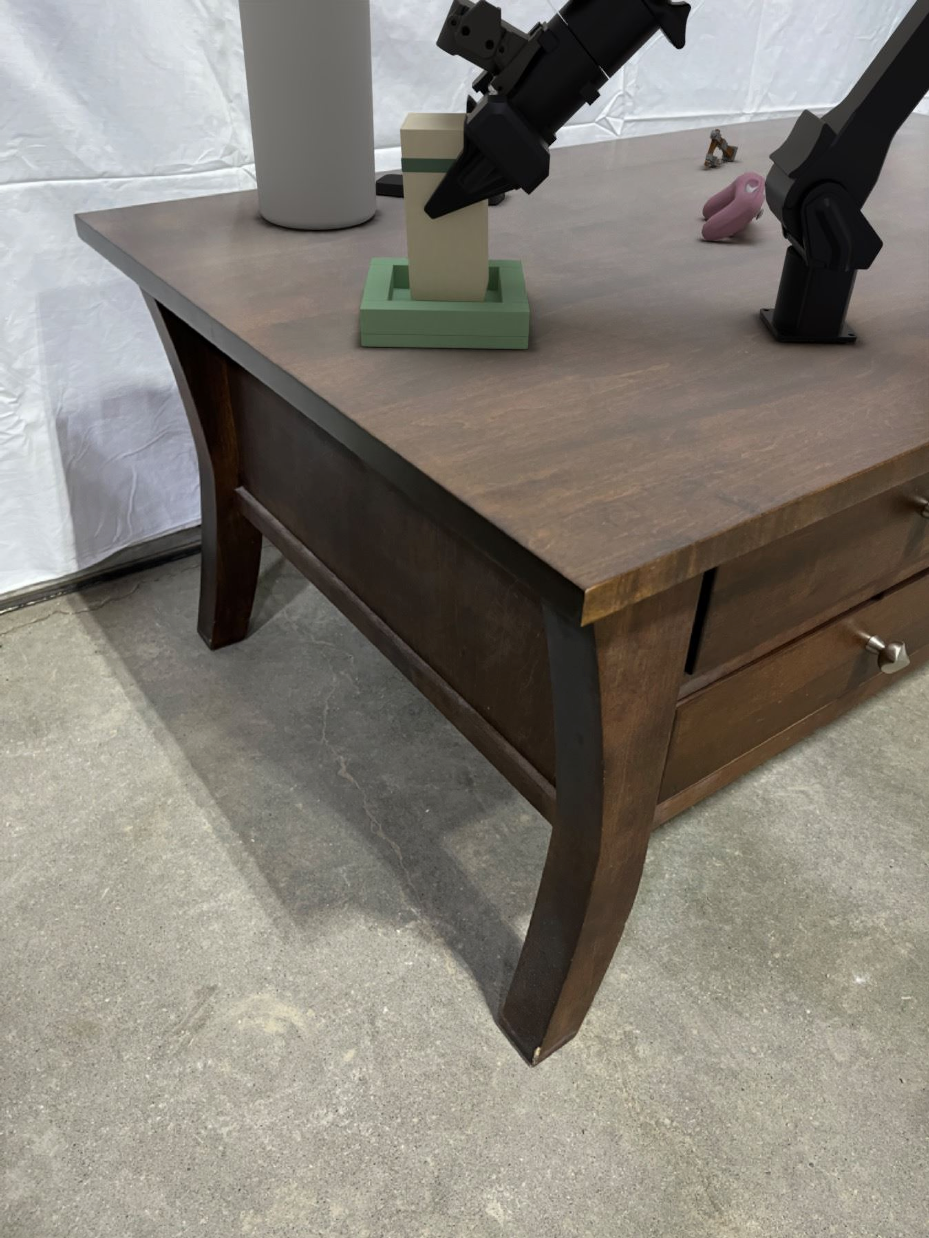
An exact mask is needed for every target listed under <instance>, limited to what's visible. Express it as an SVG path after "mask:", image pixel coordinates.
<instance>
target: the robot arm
mask: <svg viewBox="0 0 929 1238" xmlns="http://www.w3.org/2000/svg"><path fill="white" fill-rule="evenodd" d="M691 10H692V5H691V4H690V3H689V2H688V1H686V0H681V1H673V0H567V1H566V3H564V4H563V6H562V7H561V8H560V9H559V10H558V11H557V12H556V13H555V14H554V15H553V16H552V17H551V18H550V19H549V21H548V22H547V21H546V20H544V21H543V22H541V21H537V22H536V23H535V24H534V25H533V26H532V28H531V29H530V30H529V31H528V32H527V33H526V32H524V31H522V29H520V28H518V27H516V26H514V25H513V24H512V23H510V22H507V21H506V20H505V19H503V18H502V7H500V6H495V5H494V4H492V3H490V2H488V1H487V0H477V2H473V1H471V0H452V3H451V5H450V7H449V10H448V11H447V12H448V13H447V15H446V17H445V20H444V22H443V25H442V27H441V30H440V32H439V35H438V37H437V40H436V41H435V45H436V47H437V48H438V49H440V50H442V51H443V52H445V53H447V54H449V55H450V56H452V57H455V56H458V57H461V58H462V59H464V60H466V61H467V62H469V63H470V64H473V65H474V66H476V67H478V68H480V69H481V70H482V71H481V72H480V73H479V74H478V75H477V76H476V78H475V79H474V80H473V81H472V82H471V89H472V90H473V91H474V92H475V93H476V94H478V93H481V95H483V96H482V97H480V99H479V100H478V101H476V100H475V98H474V97H473V96H472V95H471V94H467V97H466V103H465V106H466V107H465V113H471V114H470V115H469V116H467V115H465V117H464V124H463V149H462V151H461V152H460V154H459V155H458V157H457V158H456V160H455V161H454V163H453V164H452V166H451V167H450V169H449V170H448V171H447V173H446V174H445V176H444V177H443V179H442V180H441V182H440V183H439V185H438V186H437V188H436V189H435V191H434V192H433V194H432V195H431V197H430V198H429V200H428V201H427V203H426V205H425V206H424V212H425V213H426V214H427V215H428V216H429V217H430V218H431V219H436V218H439V217H441V216H444V215H447V214H449V213H452V212H454V211H457V210H459V209H462V208H465V207H467V206H470V205H472V204H475V203H478V202H480V201H483V200H486V199H489V198H491V197H494V196H497V195H500V194H503V193H505V194H506V193H508V192H511V191H514V190H515V191H519V190H520V189H521V190H522V191H523V192H524V193H525V194H526V195H528V196H530V195H531V194H532V193H533V192H534V191H536V189H537V188H538V187H540V186H541V184H542V183H544V181H545V180H546V179H548V177H550V167H551V153H550V147H551V146H552V145H553V144H554V143H555V142H556V141H557V140H558V138H557V133H558V131H559V130H560V129H562V127H564V126H565V124H566V123H568V122H569V120H570V119H571V118H573V116H574V115H576V113H577V112H578V111H580V109H581V108H583V106H584V105H585V104H586V103H587V105H588V106H589V107H591V106H592V105H593V104H594V103H595V102H596V101H597V100H598V99H599V98H600V97H601V96H602V95H601V92H600V91H599V90H600V89H602V87H603V86H604V85H606V83H608V82H609V81H610V79H611V78H612V77H614V75H616V73H618V71H619V70H620V69H621V68H622V67H623V66H625V64H626V63H627V62H628V61H629V60H630V59H632V57H633V56H634V55H635V54H636V53H637V52H639V50H640V49H641V48H643V46H644V45H645V44H646V43H647V42H649V40H650V39H651V38H653V36H655V34H656V33H658V32H659V31H660V32H661V33H662V35H663V36H664V37H665V40H667V42H668V43H669V44H670V45H671V46H673V47H674V48H675V49H676V50H683V49H684V47H685V46H686V43H687V42H686V41H687V40H686V38H687V37H686V34H687V25H688V24H687V23H688V19H689V16H690V13H691ZM928 92H929V0H916V1H915V2H914V3H913V4H912V6H911V7H910V9H909V10H908V11H907V13H906V14H905V16H904V17H903V18H902V20H901V21H900V22H899V23H898V25H897V27H896V28H895V29H894V30H893V32H892V34H891V35H890V36H889V37H888V39H887V40H886V41H885V43H884V44H883V46H882V47H881V48H880V50H879V51H878V53H877V54H876V55H875V57H874V58H873V60H872V61H871V62H870V64H869V65H868V66H867V68H866V69H865V71H864V72H863V73H862V75H861V76H860V77H859V78H858V79H857V81H856V83H855V84H854V85H853V87H852V88H851V90H849V92H848V94H847V95H846V96H845V97H844V98H843V99H842V100H841V101H840V102H839V103H838V104H837V105H835V106H834V107H833V108H831V109H830V110H829V111H828V112H826V113H825V114H824V115H822V117H819V116H817V115H816V114H815V113H813V112H812V111H810V110H809V109H807V108H806V109H804V110H803V111H801V114H800V115H799V116H798V118H797V120H796V121H795V123H794V125H793V127H792V129H791V131H790V133H789V135H788V136H787V138H786V140H784V141H783V143H782V144H780V146H779V147H778V148H777V149H775V150H774V151H772V152H771V153H770V154H769V156H768V158H769V159H770V160H771V161H772V162H773V164H772V165H771V167H770V168H769V171H768V173H767V174H766V177H765V188H764V195H765V202H766V204H767V206H768V208H769V211H770V212H771V213H772V215H774V217H775V218H776V219H777V220H778V221H779V222H780V226H781V233H782V237H783V238H784V239H785V240H787V241H788V242H789V244H790V245H789V246H787V248H786V252H785V256H784V261H783V265H782V271H781V275H780V280H779V285H778V288H777V289H778V290H777V294H776V299H775V303H774V308H773V307H772V308H771V307H767V308H766V307H762V308H760V309H759V317H760V318H761V319H762V320H763V322H764V324H765V325H766V326H767V327H768V329H769V330H770V332H771V334H772V335H773V336H774V338H775V339H776V340H777V341H781V342H814V343H815V342H817V343H818V342H819V343H820V342H822V343H823V342H824V343H825V342H826V343H827V342H828V343H856V342H857V341H858V334H857V333H856V331H855V330H854V329H853V328H852V327H851V326H850V325H849V324H848V323H847V322H846V319H847V315H848V311H849V308H850V303H851V300H852V295H853V292H854V288H855V283H856V279H857V276H858V272H859V270H860V271H861V270H863V271H865V270H866V271H867V270H869V269H870V268H871V267H872V265H873V263H874V261H875V260H876V258H877V256H878V255H879V254H880V252H881V250H882V248H883V246H884V242H883V240H882V238H881V237H880V236H879V235H878V233H877V232H876V230H875V229H874V227H873V226H872V225H871V222H870V221H869V220H868V219H867V217H866V216H865V215H864V213H863V211H862V209H863V207H864V205H865V204H866V202H867V200H868V199H869V197H870V195H871V193H872V192H873V190H874V188H875V186H876V185H877V183H878V181H879V178H880V175H881V173H882V170H883V167H884V164H885V163H886V159H887V156H888V154H889V151H890V148H891V145H892V142H893V140H894V138H895V136H896V135H897V133H898V131H899V130H900V129H901V127H902V126H903V125H904V123H905V122H906V120H908V118H909V117H910V116H911V114H912V113H913V112H914V110H915V109H916V108H917V107H918V105H919V104H920V102H921V101H922V100H923V99H924V97H925V96H926V95H927V93H928Z"/></svg>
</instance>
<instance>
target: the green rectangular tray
mask: <svg viewBox="0 0 929 1238" xmlns="http://www.w3.org/2000/svg"><path fill="white" fill-rule="evenodd" d="M525 281H526V280H525V277H524V270H523V264H522V260H521V259H489V282H488V286H487V290H486V295H485V299H484V302H466V301H430V300H411V297H410V281H409V265H408V257H378V256H377V257H375V256H374V257H373V256H372V257H371V259H370V263H369V266H368V272H367V275H366V280H365V285H364V289H363V294H362V297H361V303H360V306H359V320H360V321H359V322H360V323H359V324H360V344H361V345H360V346H361V347H368V348H369V347H372V348H373V347H374V348H375V347H376V348H377V347H378V348H379V347H380V348H383V347H384V348H428V349H429V348H431V349H433V348H434V349H438V348H439V349H487V350H491V349H492V350H493V349H495V350H528V349H529V335H530V319H531V318H530V317H531V311H530V305H529V299H528V293H527V287H526V282H525Z"/></svg>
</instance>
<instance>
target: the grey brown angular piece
mask: <svg viewBox="0 0 929 1238" xmlns="http://www.w3.org/2000/svg"><path fill="white" fill-rule="evenodd" d="M709 139H710V140H711V141H710V143H709V147H708V151H707V153H706V154H705V158H704V159H705V160H704V162H703V166H705V167H715V168H718V165H719V163H720V159H719V158H718V156H715V155H714V152H715V150H716V148H717V149H718V150H719V151H721V152H722V154H721V157H720V158H721V160H723V161H729V162H735V159H736V156H737V153H738V150H739V146H735V145H730V144H729V142H728V141H727V139H726V138H725V137H724V138H723V137H722V134H721V130H720V129H719V128H716V129H714V130H713V129H712V130H711V132H710V135H709Z"/></svg>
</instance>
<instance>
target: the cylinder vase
mask: <svg viewBox="0 0 929 1238" xmlns="http://www.w3.org/2000/svg"><path fill="white" fill-rule="evenodd" d="M370 2H371V1H370V0H238V10H239V20H240V31H241V40H242V51H243V61H244V69H245V80H246V89H247V91H246V92H247V100H248V109H249V120H250V130H251V131H250V132H251V140H252V150H253V151H252V152H253V159H254V168H255V169H254V170H255V178H256V190H257V198H258V200H257V201H258V209H259V212H260V215H261V216H262V217H263V219H265V221H268V222H269V223H270V224H273V225H276V226H280V227H283V228H288V229H296V230H306V231H307V230H309V231H312V230H313V231H320V230H321V231H324V230H335V229H345V228H350V227H354V226H357V225H360V224H362V223H365V222H367V221H369V220H370V219H371V218H372V217H373V216H374V215H375V213H376V211H377V194H376V185H375V184H376V163H375V162H376V159H375V158H376V157H375V156H376V155H375V128H374V127H375V125H374V124H375V123H374V99H373V98H374V97H373V68H372V67H373V66H372V64H373V63H372V38H371V37H372V36H371V10H370V9H371V8H370V6H371V5H370Z"/></svg>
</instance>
